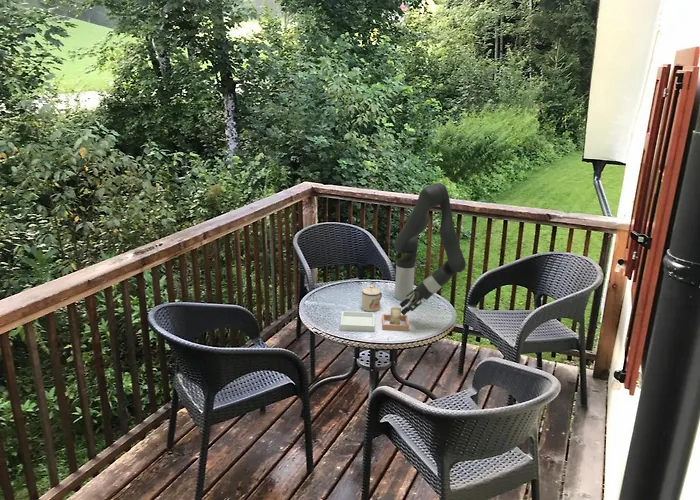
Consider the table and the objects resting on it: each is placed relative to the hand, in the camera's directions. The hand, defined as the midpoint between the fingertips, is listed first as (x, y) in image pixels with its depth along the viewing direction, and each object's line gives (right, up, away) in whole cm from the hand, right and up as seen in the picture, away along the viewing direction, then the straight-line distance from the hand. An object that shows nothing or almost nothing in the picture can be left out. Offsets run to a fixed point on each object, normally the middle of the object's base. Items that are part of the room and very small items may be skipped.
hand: (401, 309), depth 253 cm
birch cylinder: (-3, -7, +2) cm, 8 cm away
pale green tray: (-20, -7, +2) cm, 21 cm away
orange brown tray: (-3, -7, +2) cm, 8 cm away
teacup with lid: (-12, -1, +21) cm, 24 cm away
